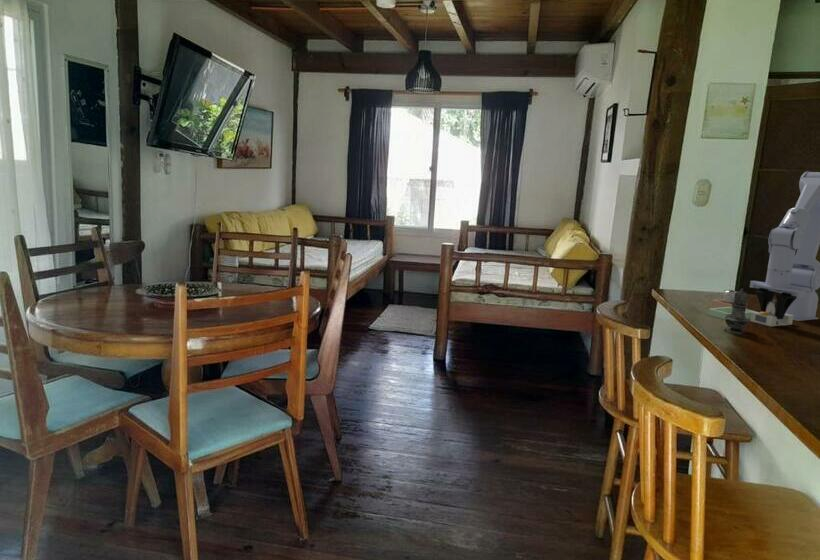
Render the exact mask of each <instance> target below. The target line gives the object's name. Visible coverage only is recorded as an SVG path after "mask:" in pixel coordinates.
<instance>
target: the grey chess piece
mask: <svg viewBox="0 0 820 560" xmlns="http://www.w3.org/2000/svg"><path fill="white" fill-rule="evenodd" d="M747 300H748V294H747V292H745V290H744V289H743V287H742V288H740V290H738V291H736V293H735V297H734V303H733V304H732V305H733V307H732V313H731V315H729V316H726V317H725V319H726V320H725V324H726V325H727V328H724V329H723V331H725V332H726V333H729V334H732V335H733V334H734V335H739V334H740V335H742V336H743V335H746V331H745V330H744V329H745V328H747V327H748V325H749V323H751V321H750V319H747V318H746V317H745V310H746V309H747V308H746V307H748V304H747ZM746 304H747V305H746Z"/></svg>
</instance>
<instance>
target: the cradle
mask: <svg viewBox="0 0 820 560" xmlns="http://www.w3.org/2000/svg"><path fill="white" fill-rule="evenodd" d="M793 316H794V315H789V314H785V315H784V317H783V319H779V323H778V324H776V319H777V317H775V316H771V315H768V312H761V311H760V312H759V311H756V312H751V318H750V319H749V320H750V322H753V323H757V324H759V325H764V326H767V327H782V326H789V325H790V326H791V325H793Z"/></svg>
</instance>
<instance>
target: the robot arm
mask: <svg viewBox="0 0 820 560" xmlns="http://www.w3.org/2000/svg"><path fill="white" fill-rule="evenodd" d="M798 184H799V185H798V187H799V191H800V195H799V197H798V200H797V201H796V202H795V206H794V207H792V208H789V209H788V210H787V211H786V214H785V215H784V217H783V218H782V220H781V222H780V223H779V225H778V226H777V227H775V228H772V229H771V231H770V233H769V236H768V237H767V239H768V241H767V242H768V243H767V244H768V250H767V251H768V253H769V259H768V264H767V271H766V277H765V281H759V280H750V283H749V288H753V289H758V290H755V295H756V297H757V299H758V303H759V306H760V312H765V310H766V304H767V300H774V296H775V297H776V299H775V300H776V301H777V310H776V317H777V319H783V317H784V315H785V314H789V315H794V316H793V320H794V321H798V322H799V321H801V322H802V321H811V320H819V317H816V314H817V309H818V303H819V295H818V293H817V292H816V291H817V290H819V289H820V261H818V260H817V259H816V257H817V255H818V251H819V249H820V248H819V247H820V172H819V171H805V172H803V174H802V175H801V176H800V179H799V182H798ZM776 293H778V294H776Z"/></svg>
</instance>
